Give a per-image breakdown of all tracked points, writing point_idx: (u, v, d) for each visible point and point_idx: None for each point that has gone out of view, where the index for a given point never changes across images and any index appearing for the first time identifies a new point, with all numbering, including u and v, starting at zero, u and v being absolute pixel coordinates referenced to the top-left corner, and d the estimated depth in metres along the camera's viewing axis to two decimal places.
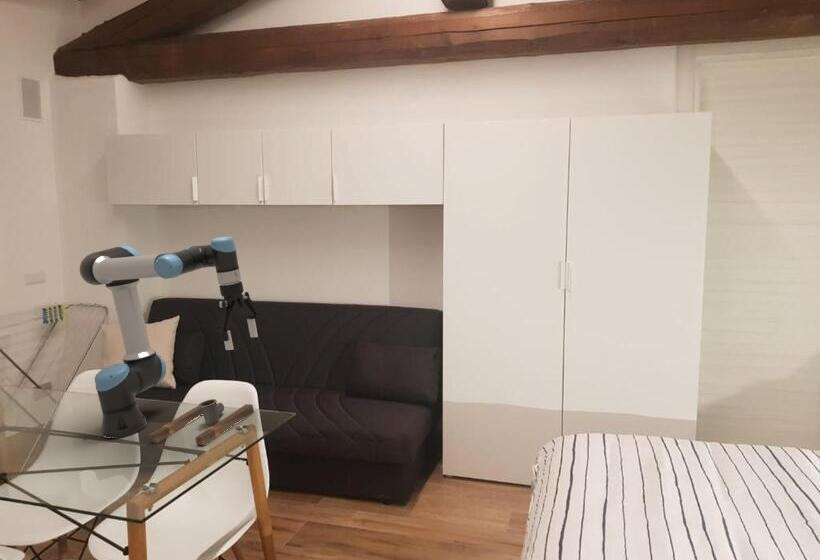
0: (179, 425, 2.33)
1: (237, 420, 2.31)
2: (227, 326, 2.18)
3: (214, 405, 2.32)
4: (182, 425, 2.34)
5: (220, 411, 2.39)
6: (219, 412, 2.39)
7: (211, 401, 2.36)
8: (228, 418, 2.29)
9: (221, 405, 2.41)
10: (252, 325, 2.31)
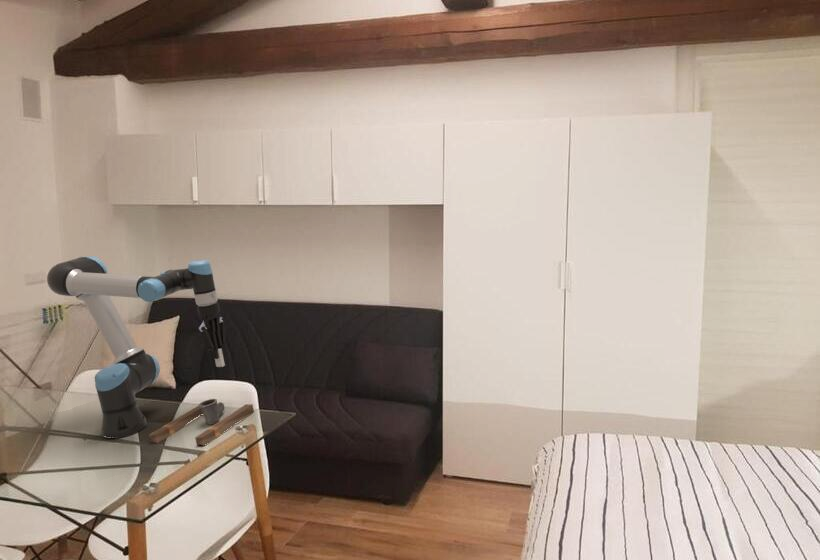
0: (179, 425, 2.33)
1: (237, 420, 2.31)
2: (216, 345, 2.38)
3: (214, 405, 2.33)
4: (182, 425, 2.34)
5: (220, 411, 2.40)
6: (219, 412, 2.39)
7: (211, 401, 2.36)
8: (228, 418, 2.29)
9: (221, 405, 2.42)
10: None
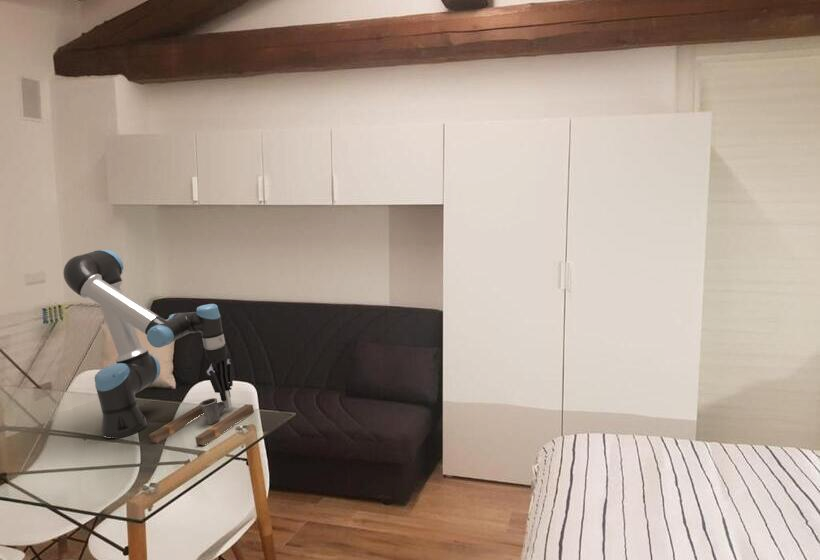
0: (179, 425, 2.33)
1: (237, 420, 2.31)
2: (223, 388, 2.41)
3: (215, 404, 2.33)
4: (182, 425, 2.34)
5: (221, 410, 2.40)
6: (220, 411, 2.39)
7: (212, 400, 2.37)
8: (228, 418, 2.29)
9: (222, 404, 2.42)
10: None
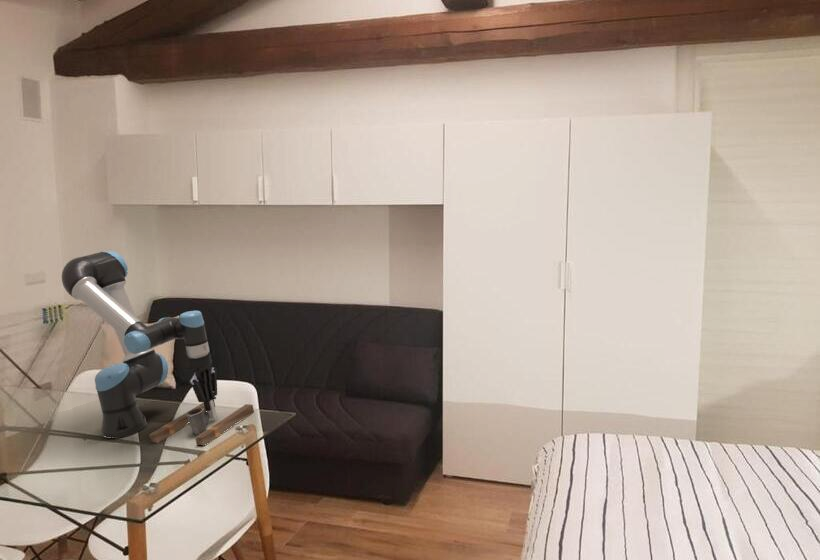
0: (179, 425, 2.33)
1: (237, 420, 2.31)
2: (207, 397, 2.33)
3: (202, 413, 2.26)
4: (182, 425, 2.34)
5: (206, 420, 2.32)
6: (205, 421, 2.32)
7: (197, 410, 2.29)
8: (228, 418, 2.29)
9: (206, 414, 2.34)
10: None
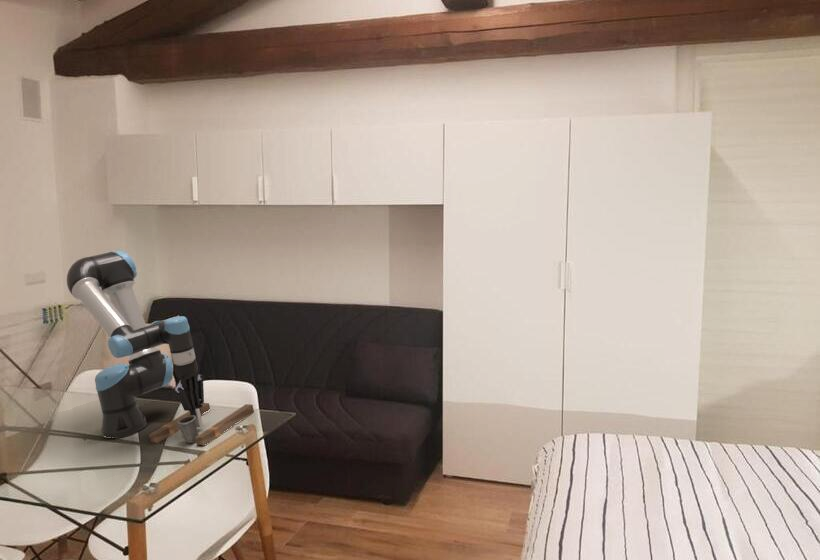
0: None
1: (237, 420, 2.31)
2: (193, 405, 2.27)
3: (195, 421, 2.20)
4: None
5: None
6: None
7: (188, 418, 2.22)
8: (228, 418, 2.29)
9: None
10: None
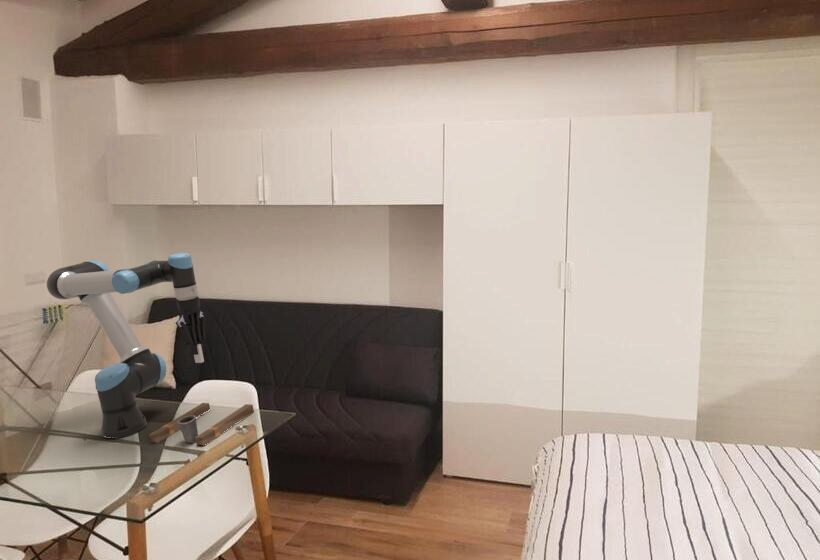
0: None
1: (237, 420, 2.31)
2: (195, 341, 2.32)
3: (195, 420, 2.20)
4: None
5: None
6: None
7: (188, 418, 2.22)
8: (228, 418, 2.29)
9: None
10: None
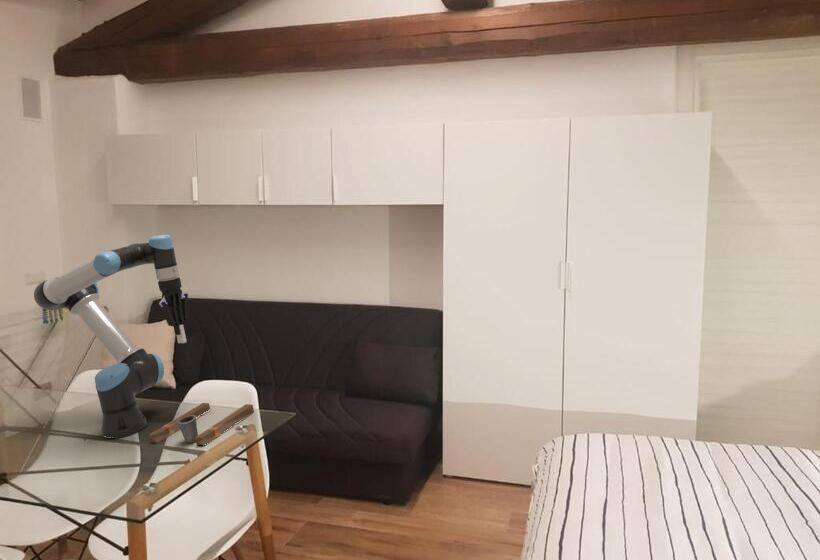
0: None
1: (237, 420, 2.31)
2: (177, 321, 2.35)
3: (195, 420, 2.20)
4: None
5: None
6: None
7: (188, 418, 2.23)
8: (228, 418, 2.29)
9: None
10: None
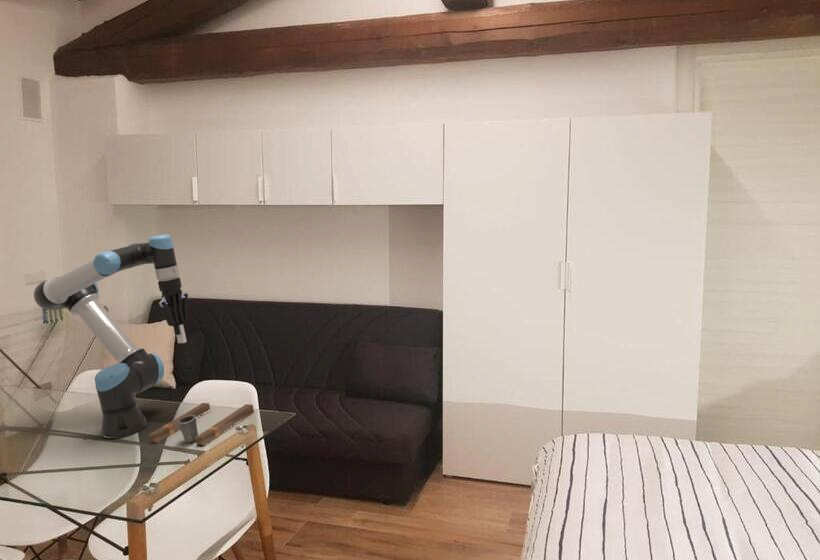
0: None
1: (237, 420, 2.31)
2: (177, 321, 2.35)
3: (195, 420, 2.20)
4: None
5: None
6: None
7: (188, 417, 2.23)
8: (228, 418, 2.29)
9: None
10: None
